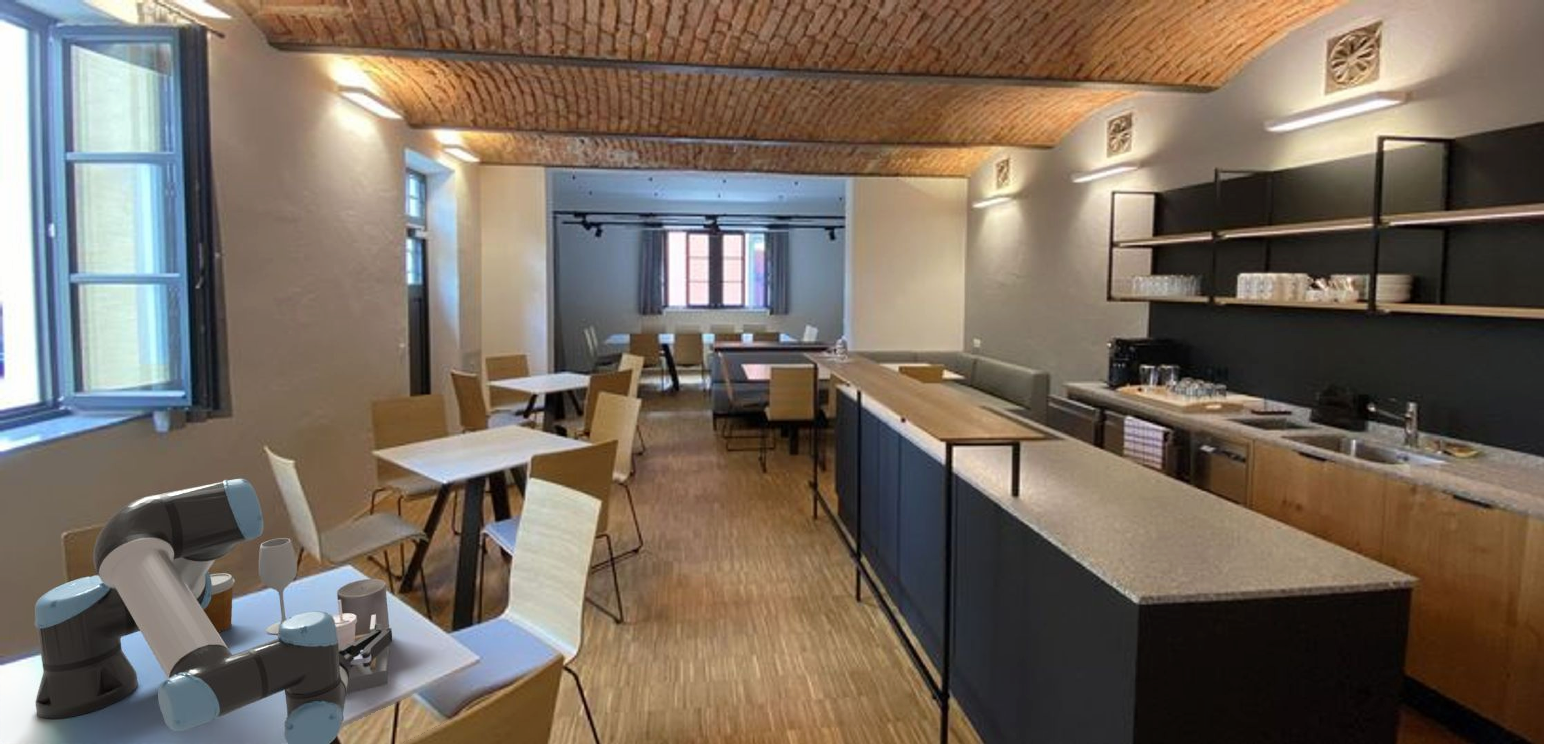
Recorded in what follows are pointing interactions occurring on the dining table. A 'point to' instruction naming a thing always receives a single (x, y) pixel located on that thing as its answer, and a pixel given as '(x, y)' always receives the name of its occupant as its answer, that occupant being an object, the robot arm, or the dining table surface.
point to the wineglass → (277, 570)
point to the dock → (369, 674)
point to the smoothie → (345, 627)
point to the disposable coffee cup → (220, 601)
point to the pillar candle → (365, 603)
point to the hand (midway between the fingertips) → (334, 628)
